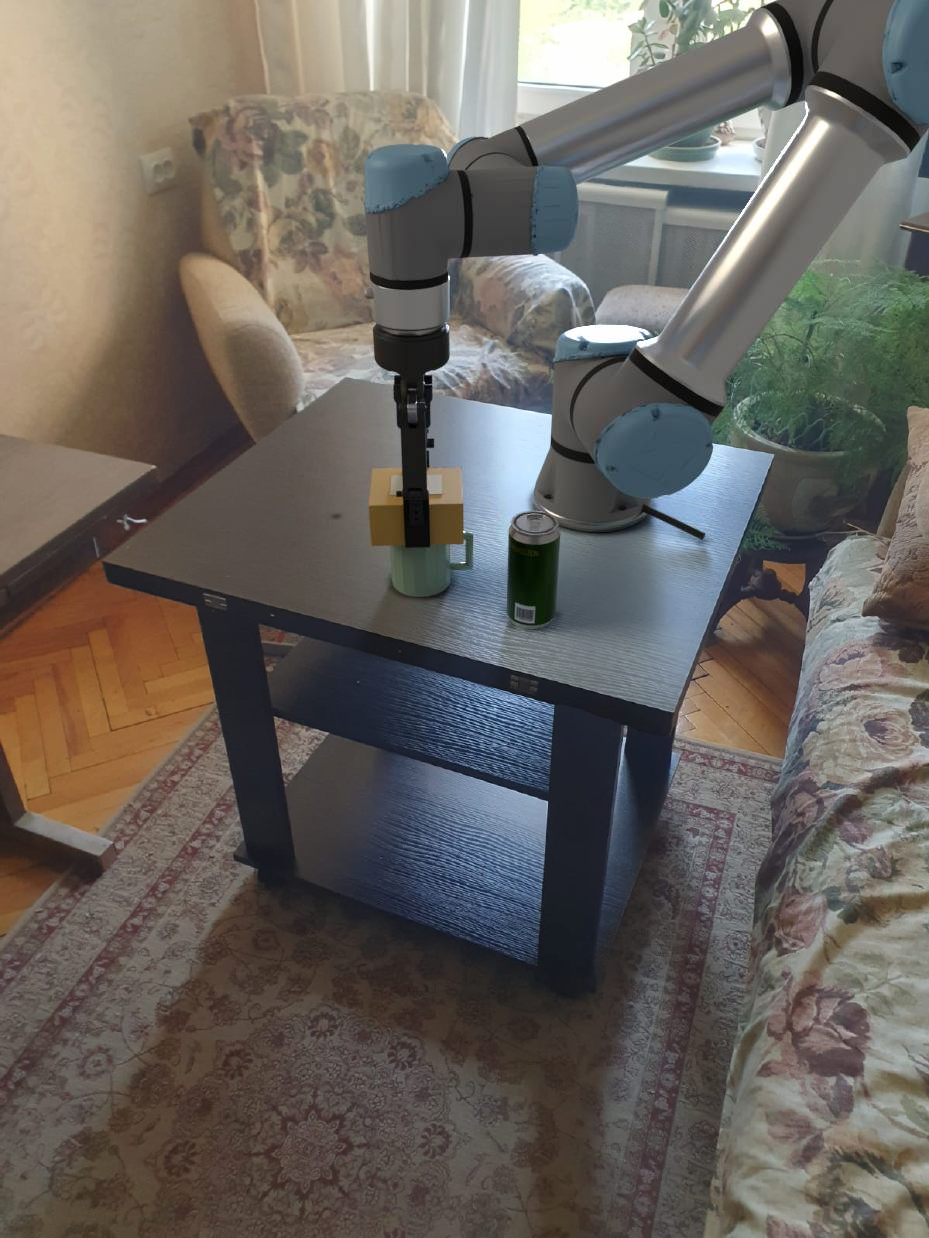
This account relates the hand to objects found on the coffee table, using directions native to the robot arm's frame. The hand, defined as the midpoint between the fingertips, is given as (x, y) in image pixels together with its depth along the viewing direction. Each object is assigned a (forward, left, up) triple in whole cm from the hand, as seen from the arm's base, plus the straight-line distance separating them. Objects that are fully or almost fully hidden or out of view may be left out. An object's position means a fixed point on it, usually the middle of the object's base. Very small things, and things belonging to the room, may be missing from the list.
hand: (418, 523), depth 105 cm
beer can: (-14, +3, -8) cm, 16 cm away
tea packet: (0, 0, 0) cm, 0 cm away
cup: (-1, 0, -8) cm, 8 cm away
